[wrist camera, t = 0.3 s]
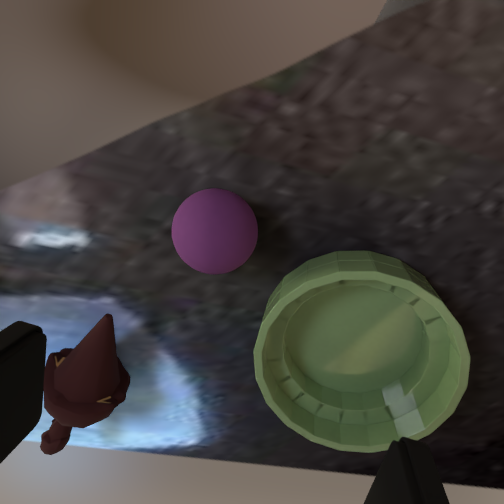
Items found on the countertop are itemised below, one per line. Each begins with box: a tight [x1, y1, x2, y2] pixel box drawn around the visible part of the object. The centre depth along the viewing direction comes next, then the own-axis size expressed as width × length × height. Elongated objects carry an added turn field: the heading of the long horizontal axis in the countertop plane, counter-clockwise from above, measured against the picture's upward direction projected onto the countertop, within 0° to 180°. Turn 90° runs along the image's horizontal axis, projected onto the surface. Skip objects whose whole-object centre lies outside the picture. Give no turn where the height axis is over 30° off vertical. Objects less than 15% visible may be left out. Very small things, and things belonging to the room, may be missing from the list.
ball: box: [172, 188, 258, 274], centre depth 27 cm, size 6×6×6 cm
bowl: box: [253, 251, 471, 453], centre depth 29 cm, size 14×14×5 cm
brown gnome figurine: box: [40, 314, 130, 455], centre depth 33 cm, size 7×7×15 cm
